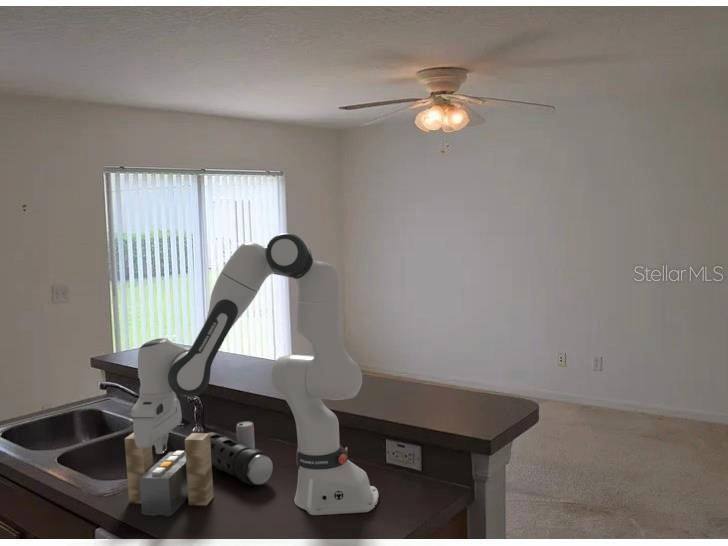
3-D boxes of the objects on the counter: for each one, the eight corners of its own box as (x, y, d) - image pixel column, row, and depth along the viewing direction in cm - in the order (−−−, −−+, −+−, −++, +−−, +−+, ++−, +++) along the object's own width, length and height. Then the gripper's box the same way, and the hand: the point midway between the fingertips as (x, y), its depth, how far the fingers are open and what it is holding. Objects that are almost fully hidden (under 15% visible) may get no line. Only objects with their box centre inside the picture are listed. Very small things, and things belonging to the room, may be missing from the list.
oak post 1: (155, 495, 178) (150, 432, 177) (146, 503, 174) (142, 438, 172) (138, 494, 179) (133, 432, 177) (129, 503, 174) (124, 438, 173)
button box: (198, 486, 183) (196, 449, 182) (171, 516, 166) (168, 474, 165) (172, 485, 185) (169, 448, 184) (142, 515, 167) (139, 474, 166)
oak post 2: (213, 497, 176) (209, 433, 174) (206, 505, 171) (202, 439, 169) (196, 496, 177) (192, 433, 175) (188, 504, 172) (184, 439, 170)
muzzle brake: (223, 459, 204) (221, 427, 203) (276, 484, 183) (274, 449, 182) (196, 468, 197) (194, 435, 196) (247, 495, 177) (246, 458, 176)
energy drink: (241, 457, 204) (239, 420, 203) (257, 458, 203) (255, 421, 202) (235, 464, 199) (233, 426, 198) (252, 464, 198) (250, 426, 197)
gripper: (164, 389, 179) (167, 437, 180) (127, 412, 159) (131, 466, 160) (185, 389, 178) (188, 438, 180) (151, 412, 158) (155, 467, 159)
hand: (161, 451), depth 170 cm, fingers closed
